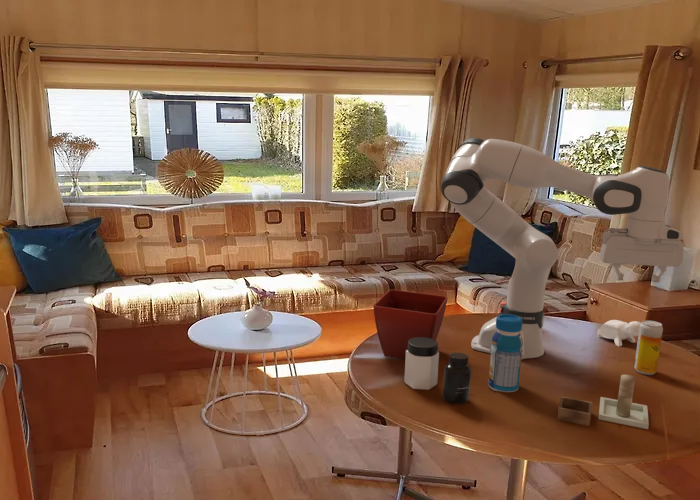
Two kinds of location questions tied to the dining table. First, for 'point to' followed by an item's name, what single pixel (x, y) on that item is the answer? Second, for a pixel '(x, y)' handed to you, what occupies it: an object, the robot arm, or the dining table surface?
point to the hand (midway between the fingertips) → (637, 280)
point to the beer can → (648, 347)
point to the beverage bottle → (506, 354)
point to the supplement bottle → (456, 379)
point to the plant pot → (407, 319)
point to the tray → (636, 417)
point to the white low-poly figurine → (619, 331)
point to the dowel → (625, 395)
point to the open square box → (574, 411)
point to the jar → (421, 363)
